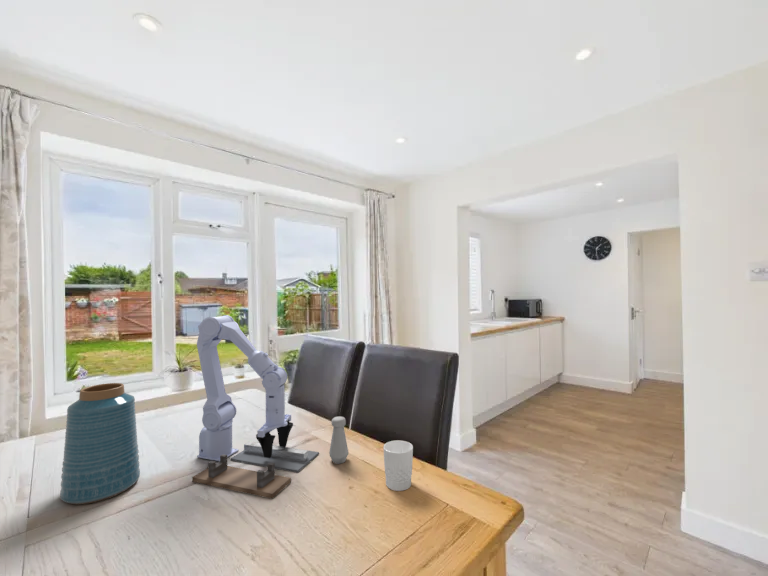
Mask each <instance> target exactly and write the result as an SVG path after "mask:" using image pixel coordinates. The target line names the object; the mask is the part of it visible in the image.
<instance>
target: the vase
mask: <svg viewBox="0 0 768 576" xmlns="http://www.w3.org/2000/svg"><path fill="white" fill-rule="evenodd" d="M135 403H136V402H135V396H134V395H132V394H129V393H126V392H125V384H124V383H122V382H109V383H102V384H101V383H100V384H94V385H89V386H87V387H86V386H85V387H84V388H81V389H80V390H79V396H78V400H76V401H74V402H73V403H71V404H70V405H69V406H68V407H67V410H66V413H67V414H66V423H65V424H66V425H65V438H64V447H63V459H62V467H61V472H62V473H61V477H60V478H61V482H60V490H59V491H60V492H59V494H60V495H59V497H60V500H61V501H62V502H64V503H67V504H72V505H87V504H88V505H89V504H92V503H98V502H101V501H105V500H107V499H110V498H113V497H115V496H117V495H119V494H122V493H123V492H125V491H126V490H128V489H129V488H131V487H132V486H133V485H134V484H135V483H136V482H137V481H138V480H139V478H140V476H141V475H140V474H141V472H140V471H141V470H140V461H139V460H140V456H139V455H140V454H139V453H140V451H139V444H138V433H137V431H138V429H137V416H136V404H135Z"/></svg>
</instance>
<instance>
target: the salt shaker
mask: <svg viewBox="0 0 768 576" xmlns="http://www.w3.org/2000/svg"><path fill="white" fill-rule="evenodd" d="M346 424H347V420H346V418H345V417H344V416H340V415H339V416H334V417H333V418H332V419H331V426H332V427H333V428H332V432H331V439H330V440H331V441H330V447H329V450H328V451H329V452H328V453H329V457H330V459H331V461H332V463H333V462H334V464H339V465H341V464H343V463H345V462H346V460H347V458H348V456H349V448H348V441H347V438H346V432H345V426H346Z"/></svg>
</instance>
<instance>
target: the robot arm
mask: <svg viewBox="0 0 768 576" xmlns="http://www.w3.org/2000/svg"><path fill="white" fill-rule="evenodd" d="M197 328H198V329H197V330H198V337H197V339H196V340H197V342H196V348H197V352H198V357H199V363H200V369H201V374H202V378H203V379H202V380H203V383H204V388H205V389H204V390H205V394H206V401H205V402H204V405H203V407H202V411H203V413H202V414H203V415H202V418H201V419H202V420H201V422H202V425H203V427H202V428H201V429H200V433H199V436H198V454H197V456H196V458H199V459H204V460H210V461H214V462H220V456H221V455H222V454H224V455H227V458H229V457H231V456H233V455H234V454H236V453H238V451H239V448H234V447H233V422H234V421H233V420H234V418H235V417H236V415H237V407H236V406H235V404H234V402H233V399H232V397H231V395H229V394H228V393H227V392H226V388H225V383H224V377H223V372H222V367H221V362H220V356H219V352H218V345H219V344H220V342H221V341H222V340H227V341H230V342H232V343H233V344H234V346H235V347H237V348H238V349H239V350H240V351H241V352H242V353H243V354H244V355H245V356H246V357H247V363H248V365H249V366H250V368H251V369H253V371H254V372H255V373H256V374H257V375H258V376H259V377H260V378H261V385H262V387H263V388H264V390H265V422H264V423H263V424H262V426H261V427H260V428H259V429H257V430H256V431H257V433H256V434H255V438H256V440H257V442H258V443H260V445H261V447H262V450H263V454H264V457H266V458H270V457H271V456H272V446H273V445H274V440H275V438H276V435H275V434H274V435H273V434H271V432H272V431H274V430H276V431H277V439H278V446H282V447H287V443H288V439H289V437H290V433H291V430H292V428H293V426H294V422H292V414H288V413H286V412H285V411H286V406H285V405H286V402H285V401H286V400H285V399H286V398H285V393H286V392H285V390H286V389H285V384H286V382H288V381H287V380H288V374H287V371H286V370H285V368H283V367H280V366H279V365H278V364H276V363H275V362H273V360H272V359H271V358H270V357H269V356H270V355H269V354H268V352H267V351H266V352H265V351H263V350H258V349H256V347H255V346H254V345H253V343H252V342H251V341H250V339H249V338H248V336H246V334H245V333H244V332H243V331H242V329H241V328H240V326H239V324H238V322H236V321H235V320H234V318H233V317H232V316H230V315H226V314H223V315H219V316H208V317H205V318H204V319H203V320H202V321H201V322H200V324H199V325H198V327H197Z"/></svg>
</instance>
